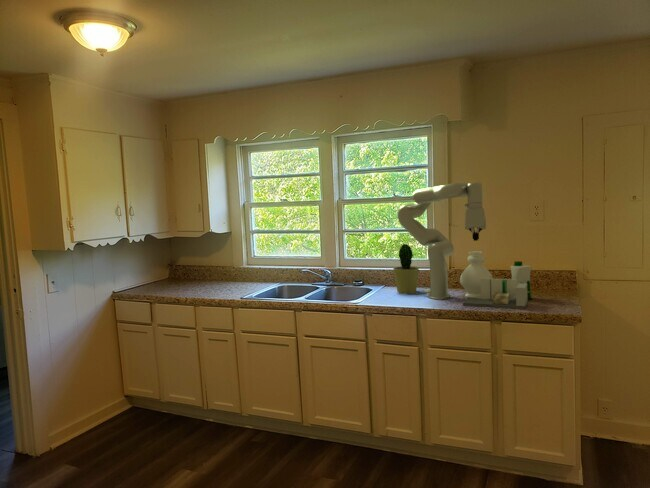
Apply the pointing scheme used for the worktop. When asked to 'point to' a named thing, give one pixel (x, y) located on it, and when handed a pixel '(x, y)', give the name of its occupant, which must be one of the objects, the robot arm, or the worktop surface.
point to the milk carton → (522, 275)
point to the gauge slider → (501, 297)
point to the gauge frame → (491, 285)
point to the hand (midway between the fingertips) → (475, 240)
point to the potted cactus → (406, 271)
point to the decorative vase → (474, 275)
